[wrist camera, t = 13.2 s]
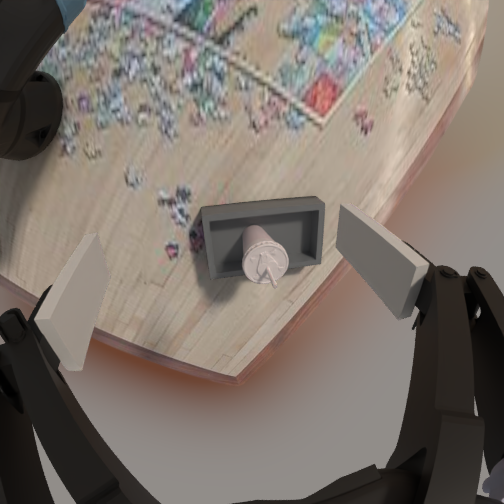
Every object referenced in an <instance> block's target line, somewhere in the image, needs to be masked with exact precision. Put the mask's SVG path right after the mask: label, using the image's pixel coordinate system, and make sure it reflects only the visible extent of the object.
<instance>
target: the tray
mask: <svg viewBox="0 0 504 504" xmlns="http://www.w3.org/2000/svg"><path fill="white" fill-rule="evenodd" d="M201 213H202V223H203V231H204V238H205V246H206V253H207V260H208V267H209V274H210V279H217V278H225V277H233V276H240V275H245V273H244V270H243V267H242V259H243V256H244V253H243V238H242V235H243V232H244V230H245V229H246V228H247V227H248V226H251V225H258V226H260V227H261V228H262V229H263V230H264V231H265V232H266V233H267V234H268V235H269V236H270V237H271V238H272V239H273V240H274V241H275V242H277V243H278V244H280V245H282V247H283V248H284V249H285V251H286V253H287V255H288V259H289V264H288V268H287V269H290V268H297V267H304V266H310V265H317V264H321V257H322V245H323V231H324V216H325V203H324V202H323V201H321V200H320V199H319V198H318V197H316V196H309V197H295V198H283V199H272V200H261V201H251V202H241V203H232V204H223V205H214V206H206V207H201Z"/></svg>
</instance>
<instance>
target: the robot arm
mask: <svg viewBox="0 0 504 504" xmlns="http://www.w3.org/2000/svg"><path fill="white" fill-rule="evenodd" d="M86 1H87V0H0V158H5V159H10V160H16V161H19V160H25V159H28V158H31V157H33V156H35V155H37V154H39V153H40V152H42V151H43V150H44V149H45V148H46V147H47V146H48V145H49V143H50V142H51V141H52V139H53V138H54V136H55V134H56V132H57V129H58V127H59V124H60V121H61V116H62V109H63V100H62V93H61V90H60V87H59V85H58V83H57V81H56V80H55V79H54V78H53V77H52V76H51V75H50V74H48V73H46V72H42V71H35V70H36V69H37V67H38V66H39V64H40V63H41V61H42V60H43V59H44V57H45V56H46V54H47V53H48V52H49V50H50V49H51V48H52V47H53V45H54V44H55V43H56V41H57V40H58V39H59V38H60V36H61V35H62V34H64V33H65V32H66V31H67V30H68V27H69V25H70V24H71V23H72V22H73V21H74V19H75V18H76V17H77V16H78V15H79V14H80V13H81V11H82V10H83V9H84V7H85V5H86ZM336 248H337V250H338V251H339V252H340V253H341V254H342V255H343V256H344V257H345V258H346V260H347V261H348V262H349V263H350V264H351V265H352V266H353V267H354V268H355V270H356V271H357V272H358V273H359V274H360V275H361V277H362V278H363V279H364V280H365V281H366V282H367V283H368V285H369V286H370V287H371V288H372V289H373V290H374V292H375V293H376V294H377V295H378V296H379V298H380V299H381V300H382V301H383V302H384V304H385V305H386V306H387V307H388V308H389V310H390V311H391V312H392V313H393V315H394V316H395V317H396V318H397V319H398V320H401V319H404V318H407V317H410V316H411V314H412V312H413V309H414V307H415V306H416V307H417V308H418V309H419V310H420V311H419V313H418V315H417V318H416V320H415V322H414V325H413V327H412V330H414V328H415V327H416V338H415V349H414V358H413V366H412V374H411V380H410V387H409V393H408V398H407V403H406V408H405V413H404V418H403V422H402V427H401V431H400V435H399V439H398V443H397V446H396V448H395V451H394V452H393V454H392V456H391V457H390V459H389V461H388V463H387V465H386V468H384V469H377V468H376V465H375V464H373V465H371V466H369V467H366V468H364V469H361V470H359V471H357V472H354V473H352V474H349V475H346V476H344V477H341V478H339V479H338V480H336V481H334V482H333V483H331V484H329V485H328V486H326V487H324V488H323V489H321V490H319V491H317V492H316V493H314V494H312V495H310V496H308V497H306V498H304V499H300V500H254V501H248V502H240V503H233V504H504V296H503V294H502V292H501V291H500V289H499V288H498V286H497V284H496V283H495V281H494V280H493V278H492V277H491V275H490V274H489V273H488V272H487V271H486V270H485V269H483V268H481V267H471V268H470V270H469V273H468V276H460V275H459V274H458V273H457V272H456V271H455V270H454V269H452V268H450V267H448V266H443V265H441V266H437V267H436V266H434V264H432V263H431V262H430V261H429V260H428V259H427V258H425V257H424V256H423V255H422V254H420V253H419V252H418V251H417V250H414V248H413V247H412V246H411V245H409V244H408V243H406V242H404V241H402V240H400V239H399V238H398V237H396V236H395V235H394V234H393V233H391V232H390V231H389V230H387V229H386V228H385V227H384V226H382V225H381V224H380V223H378V222H377V221H376V220H374V219H373V218H372V217H370V216H369V215H367V214H366V213H365V212H363V211H362V210H361V209H359V208H358V207H356V206H355V205H354V204H352V203H348V204H340V213H339V222H338V231H337V240H336ZM110 279H111V275H110V272H109V269H108V266H107V262H106V259H105V256H104V253H103V249H102V246H101V243H100V239H99V236H98V232H97V233H92V234H86V235H85V236H84V237H83V239H82V240H81V242H80V243H79V244H78V246H77V247H76V249H75V250H74V252H73V253H72V255H71V256H70V258H69V260H68V261H67V263H66V264H65V266H64V267H63V269H62V271H61V272H60V274H59V276H58V277H57V279H56V281H55V282H54V284H53V285H50V286H49V287H48V288H47V289H46V290H45V291H44V292H43V294H42V296H41V297H40V299H39V301H38V303H37V305H36V307H35V308H34V310H33V312H32V314H31V316H30V318H29V320H28V321H26V319H25V317H24V315H23V314H22V312H21V310H20V309H18V308H13V309H10V310H8V311H6V312H5V313H3V314H2V315H1V316H0V335H1V337H2V338H3V340H4V341H5V344H2V345H0V504H55V503H54V501H53V498H52V496H51V493H50V490H49V487H48V484H47V481H46V478H45V476H44V472H43V469H42V465H41V461H40V457H39V454H38V450H37V445H36V441H35V437H34V432H33V427H34V429H35V431H36V433H37V436H38V438H39V440H40V442H41V444H42V446H43V448H44V450H45V452H46V454H47V456H48V458H49V460H50V461H51V463H52V465H53V467H54V469H55V470H56V472H57V474H58V476H59V477H60V479H61V481H62V482H63V484H64V485H65V487H66V489H67V490H68V492H69V493H70V495H71V496H72V498H73V499H74V501H75V502H76V504H161V503H160V502H159V501H157V500H156V499H155V498H154V497H153V496H152V495H151V494H150V493H149V492H148V491H147V490H146V489H145V488H144V487H143V486H142V485H141V484H140V483H139V482H138V481H137V479H136V478H135V477H134V476H133V475H132V474H131V473H130V472H129V470H128V469H127V468H126V467H125V466H124V465H123V464H122V462H121V461H120V460H119V459H118V458H117V456H116V455H115V454H114V453H113V451H112V450H111V449H110V448H109V446H108V445H107V444H106V442H105V441H104V440H103V438H102V437H101V436H100V434H99V433H98V432H97V430H96V429H95V427H94V426H93V425H92V423H91V422H90V420H89V418H88V417H87V415H86V414H85V412H84V411H83V410H82V408H81V406H80V405H79V403H78V401H77V400H76V398H75V396H74V395H73V393H72V391H71V390H70V388H69V386H68V384H67V383H66V381H65V379H64V377H63V375H62V374H61V372H60V371H59V370H58V366H59V363H60V362H61V363H62V364H63V366H64V367H65V369H66V370H67V371H82V369H83V365H84V361H85V357H86V353H87V349H88V346H89V342H90V339H91V335H92V332H93V329H94V325H95V322H96V319H97V316H98V313H99V310H100V307H101V304H102V301H103V298H104V295H105V292H106V289H107V287H108V284H109V281H110ZM479 307H480V309H481V314H480V316H479V318H477V315H476V313H477V311H478V309H479ZM474 396H475V401H476V405H477V411H478V416H475V414H474ZM32 424H33V426H32ZM483 450H484V457H485V461H486V465H487V469H488V472H489V475H490V477H488V478H487V479H486V480H485V481H484V483H483V487H482V489H483V491H484V492H485V493H489V497H484V496H481V495H477V489H478V483H479V478H480V472H481V464H482V456H483Z"/></svg>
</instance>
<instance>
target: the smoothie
mask: <svg viewBox="0 0 504 504" xmlns="http://www.w3.org/2000/svg"><path fill="white" fill-rule="evenodd" d="M242 238H243V253H244V256H243V259H242V267H243V270H244V273H245V275H246V276H247V278H248V279H249V280H251V281H252V282H254V283H258V284H269V283H272V286H273V288H277V287H278V286H277V284H276V280H278V279H279V278H281V277H282V276H283V275H284V273H285V272H286V270H287V268H288V264H289V259H288V255H287V253H286V251H285V249H284V248H283V247H282V245H280V244H278V243H277V242H275V241H274V240H273V239H272V238H271V237H270V236H269V235H268V234H267V233H266V232H265V231H264V230H263V229H262V228H261V227H260V226H258V225H251V226H248V227H247V228H246V229H245V230H244V232H243V235H242Z"/></svg>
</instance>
